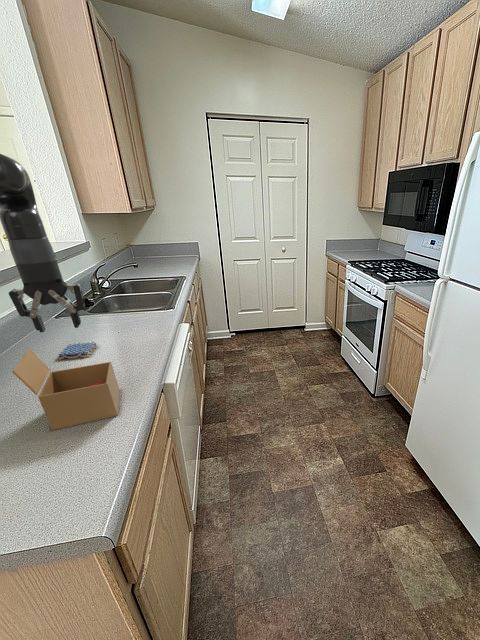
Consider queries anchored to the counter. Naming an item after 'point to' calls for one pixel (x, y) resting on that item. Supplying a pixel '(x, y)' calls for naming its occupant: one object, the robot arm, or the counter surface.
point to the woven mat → (77, 350)
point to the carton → (80, 395)
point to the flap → (31, 371)
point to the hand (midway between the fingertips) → (60, 328)
